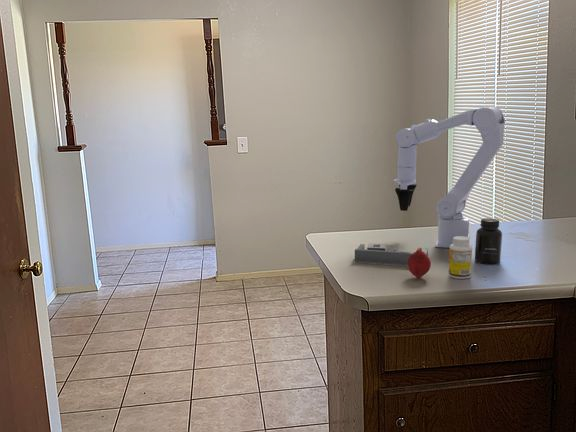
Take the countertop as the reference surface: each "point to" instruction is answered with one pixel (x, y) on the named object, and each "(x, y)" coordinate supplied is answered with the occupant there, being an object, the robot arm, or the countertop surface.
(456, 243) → the supplement bottle
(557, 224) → the countertop surface
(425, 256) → the onion
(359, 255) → the bracket
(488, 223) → the supplement bottle
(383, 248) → the block
